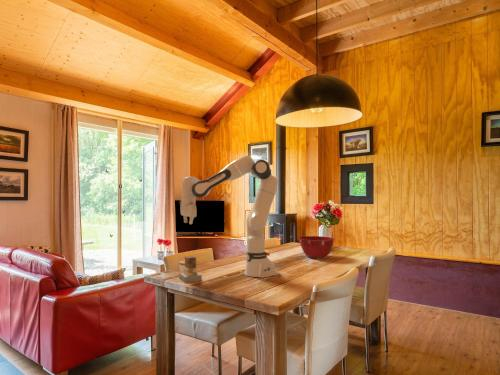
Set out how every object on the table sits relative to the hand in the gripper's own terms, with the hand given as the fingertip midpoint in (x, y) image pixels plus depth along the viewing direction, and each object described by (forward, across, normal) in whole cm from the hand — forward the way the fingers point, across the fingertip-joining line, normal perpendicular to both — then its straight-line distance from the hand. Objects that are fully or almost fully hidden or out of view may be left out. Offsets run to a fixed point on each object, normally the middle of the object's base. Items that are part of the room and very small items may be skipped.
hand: (188, 223), depth 205 cm
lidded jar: (+31, -4, +1) cm, 32 cm away
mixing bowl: (+31, +1, -109) cm, 114 cm away
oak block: (+28, -16, +4) cm, 33 cm away
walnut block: (+24, -16, +4) cm, 29 cm away
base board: (+31, -16, +4) cm, 35 cm away
